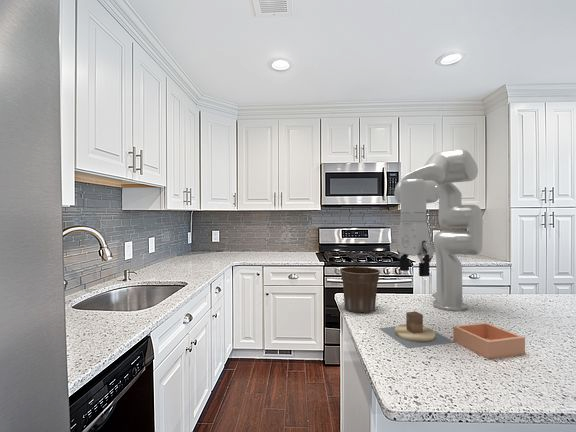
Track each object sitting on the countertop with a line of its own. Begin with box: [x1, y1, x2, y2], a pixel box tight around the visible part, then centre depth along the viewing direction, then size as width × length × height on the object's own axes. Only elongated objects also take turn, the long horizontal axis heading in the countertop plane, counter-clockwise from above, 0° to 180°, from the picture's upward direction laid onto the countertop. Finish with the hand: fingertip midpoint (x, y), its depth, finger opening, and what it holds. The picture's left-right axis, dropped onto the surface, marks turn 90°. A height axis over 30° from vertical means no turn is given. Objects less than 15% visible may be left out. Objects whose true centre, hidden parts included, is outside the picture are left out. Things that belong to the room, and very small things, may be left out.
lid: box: [395, 310, 436, 342], centre depth 95 cm, size 12×12×7 cm
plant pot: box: [339, 266, 381, 314], centre depth 125 cm, size 16×16×16 cm
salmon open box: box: [452, 322, 526, 360], centre depth 86 cm, size 12×12×5 cm
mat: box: [378, 325, 457, 349], centre depth 95 cm, size 16×16×1 cm
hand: (413, 273), depth 95 cm, fingers open, 9 cm apart
